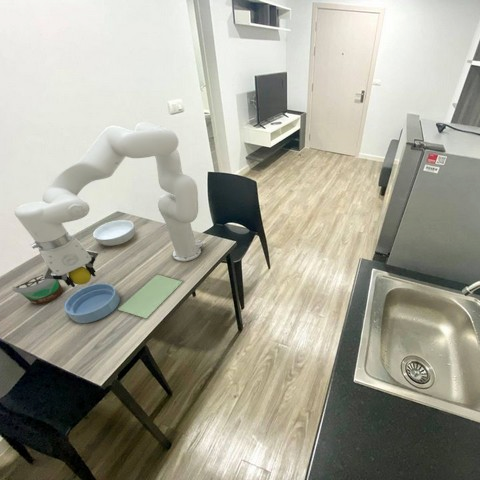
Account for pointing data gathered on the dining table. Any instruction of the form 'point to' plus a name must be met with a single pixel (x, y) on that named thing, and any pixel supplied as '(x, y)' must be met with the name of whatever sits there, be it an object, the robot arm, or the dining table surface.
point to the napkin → (150, 296)
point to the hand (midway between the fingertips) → (82, 279)
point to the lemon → (80, 275)
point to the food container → (40, 290)
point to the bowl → (92, 303)
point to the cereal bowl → (114, 232)
